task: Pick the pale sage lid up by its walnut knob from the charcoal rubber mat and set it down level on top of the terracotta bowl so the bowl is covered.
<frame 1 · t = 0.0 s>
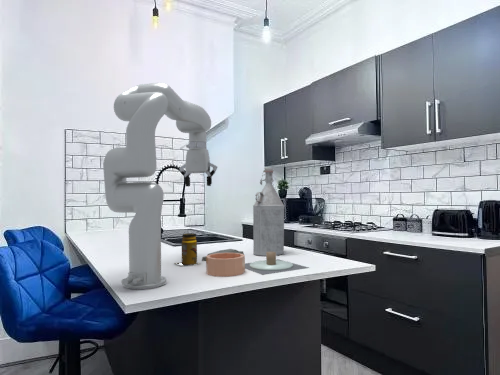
hand: (198, 186, 153), 31 cm above the countertop, tool pointing down, fingers open, 9 cm apart
mat: (271, 267, 131), on the countertop
bowl: (225, 273, 123), on the countertop
condiment: (187, 264, 140), on the countertop
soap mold: (223, 259, 153), on the countertop
swing top bottle: (268, 254, 160), on the countertop
lid: (271, 266, 131), resting on mat
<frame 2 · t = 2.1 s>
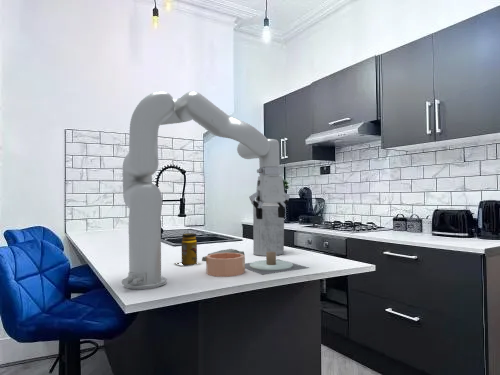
hand: (270, 218, 131), 18 cm above the countertop, tool pointing down, fingers open, 9 cm apart
nothing on the countertop moved.
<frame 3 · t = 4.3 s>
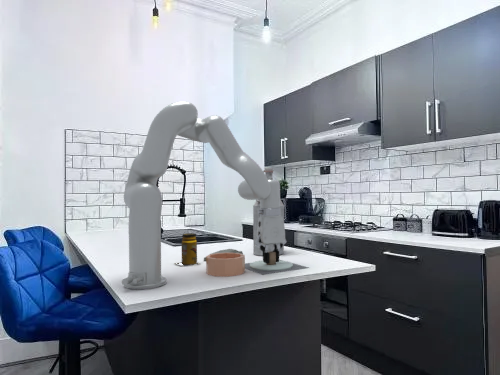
hand: (271, 261, 131), 2 cm above the countertop, tool pointing down, fingers closed on lid, 3 cm apart
lid: (271, 266, 131), resting on mat, touching gripper
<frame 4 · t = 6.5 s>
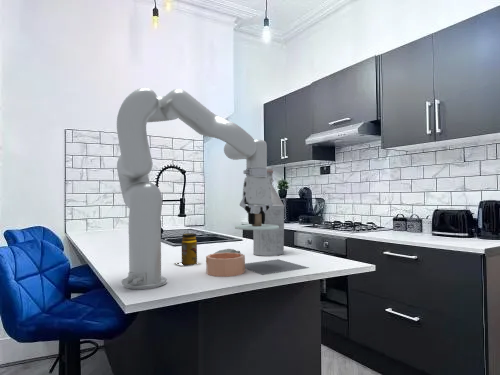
hand: (256, 223, 129), 17 cm above the countertop, tool pointing down, fingers closed on lid, 3 cm apart
lid: (256, 228, 129), point 15 cm above the countertop, touching gripper
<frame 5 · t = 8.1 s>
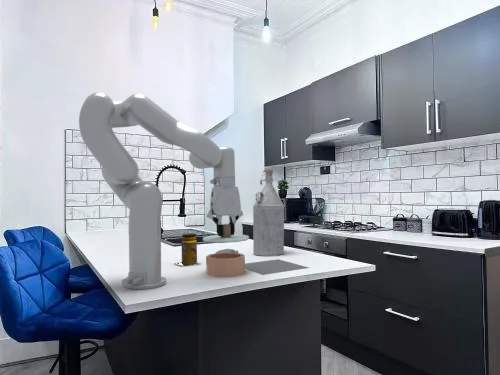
hand: (225, 234, 123), 13 cm above the countertop, tool pointing down, fingers closed on lid, 3 cm apart
lid: (226, 239, 123), point 12 cm above the countertop, touching gripper
when the fingers open (9 cm above the countertop, at t = 9.1 s): lid drops 1 cm, resting on bowl.
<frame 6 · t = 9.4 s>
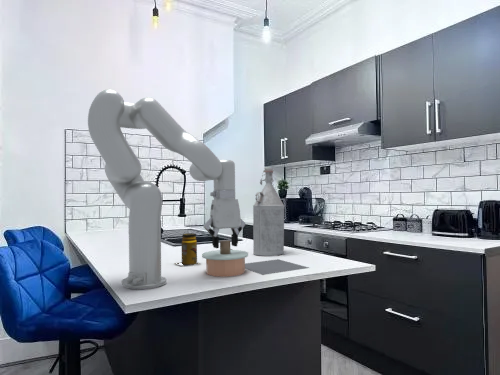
hand: (225, 246, 123), 9 cm above the countertop, tool pointing down, fingers open, 6 cm apart
lid: (225, 255, 123), point 6 cm above the countertop, touching bowl
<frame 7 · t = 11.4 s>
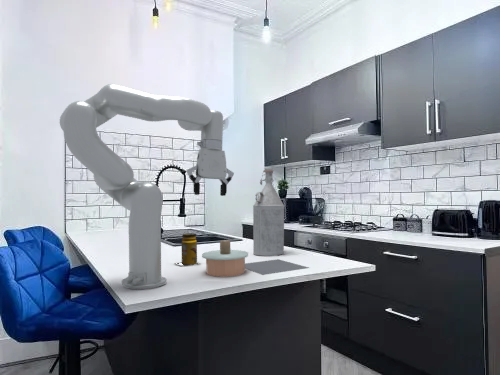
hand: (210, 195, 123), 27 cm above the countertop, tool pointing down, fingers open, 9 cm apart
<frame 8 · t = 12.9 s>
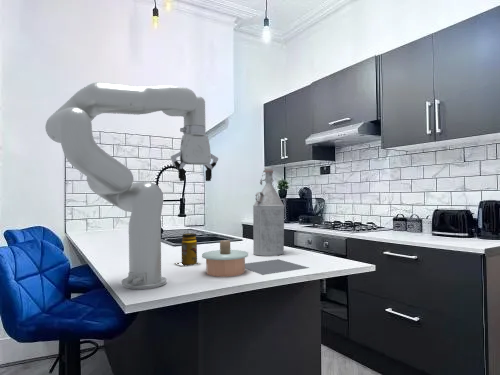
hand: (195, 180, 124), 32 cm above the countertop, tool pointing down, fingers open, 9 cm apart
at the end: lid 0.1 cm off-centre on the bowl, point 6.0 cm above the bowl's base; lid tilted 0°; the gripper is holding nothing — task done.
